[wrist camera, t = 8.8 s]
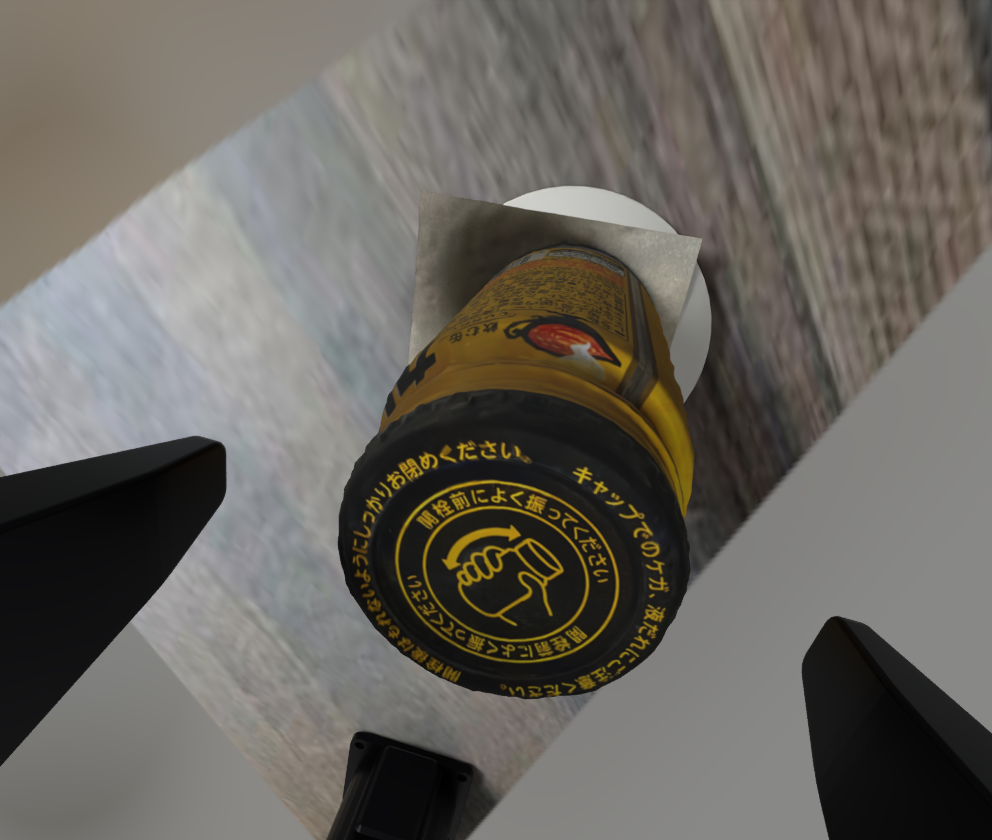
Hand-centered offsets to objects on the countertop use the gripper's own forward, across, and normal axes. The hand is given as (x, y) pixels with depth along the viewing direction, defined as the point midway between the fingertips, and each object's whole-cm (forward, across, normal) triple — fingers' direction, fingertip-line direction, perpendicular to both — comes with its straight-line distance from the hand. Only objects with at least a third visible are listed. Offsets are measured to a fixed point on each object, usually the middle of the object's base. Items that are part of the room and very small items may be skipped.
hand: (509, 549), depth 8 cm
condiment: (+12, +1, 0) cm, 12 cm away
